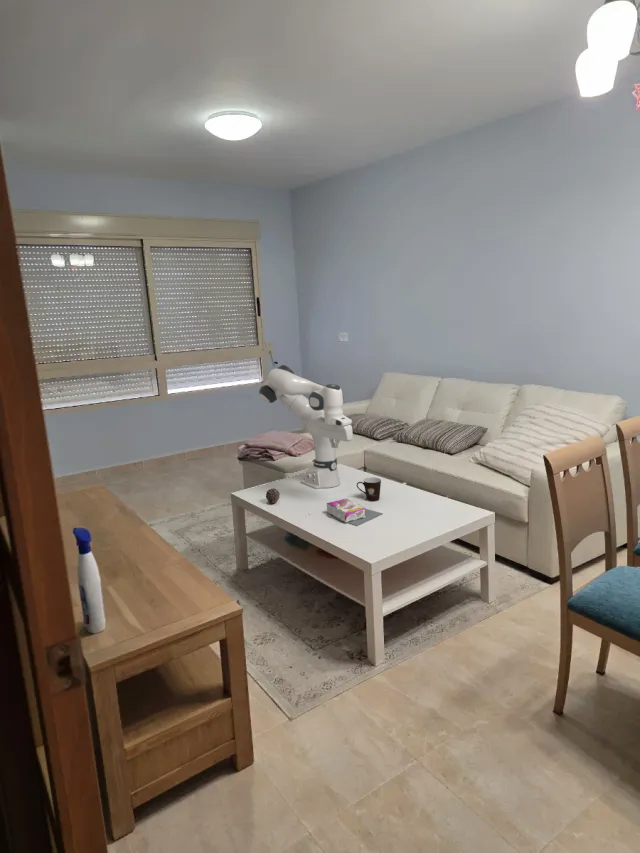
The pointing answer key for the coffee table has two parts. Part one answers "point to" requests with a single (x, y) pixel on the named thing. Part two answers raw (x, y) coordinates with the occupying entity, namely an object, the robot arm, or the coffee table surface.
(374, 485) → the coffee mug
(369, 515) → the mat
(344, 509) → the candy bar box
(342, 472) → the coffee table surface
